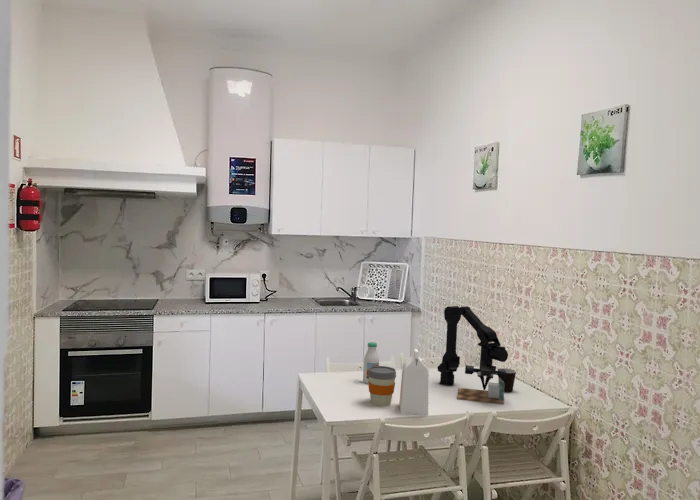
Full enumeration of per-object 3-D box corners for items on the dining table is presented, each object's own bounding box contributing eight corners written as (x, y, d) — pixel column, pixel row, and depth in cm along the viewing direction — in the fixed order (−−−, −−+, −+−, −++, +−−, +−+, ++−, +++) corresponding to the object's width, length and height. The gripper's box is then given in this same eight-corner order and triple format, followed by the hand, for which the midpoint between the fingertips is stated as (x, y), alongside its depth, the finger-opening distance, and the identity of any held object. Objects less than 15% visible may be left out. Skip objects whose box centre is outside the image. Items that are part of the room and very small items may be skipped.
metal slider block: (488, 397, 262) (488, 385, 261) (487, 394, 267) (488, 382, 267) (499, 398, 261) (499, 386, 260) (498, 395, 266) (499, 383, 266)
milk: (399, 404, 251) (402, 346, 250) (425, 405, 251) (428, 347, 249) (400, 413, 239) (403, 353, 238) (428, 414, 239) (431, 354, 237)
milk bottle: (360, 383, 280) (362, 343, 279) (366, 379, 288) (367, 340, 286) (375, 385, 278) (377, 345, 276) (380, 381, 285) (382, 342, 284)
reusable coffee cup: (375, 396, 261) (376, 364, 260) (399, 401, 254) (401, 369, 254) (361, 403, 250) (363, 370, 249) (386, 409, 244) (388, 375, 243)
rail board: (456, 399, 262) (457, 382, 261) (457, 391, 273) (458, 375, 273) (503, 404, 257) (504, 387, 257) (502, 396, 269) (503, 379, 268)
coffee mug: (515, 394, 274) (516, 373, 273) (497, 392, 275) (498, 372, 275) (513, 387, 285) (514, 367, 284) (496, 385, 287) (497, 366, 286)
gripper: (465, 358, 258) (463, 392, 259) (508, 363, 254) (505, 397, 255) (466, 353, 269) (464, 385, 270) (506, 357, 265) (504, 390, 266)
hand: (484, 389), depth 265 cm, fingers closed
